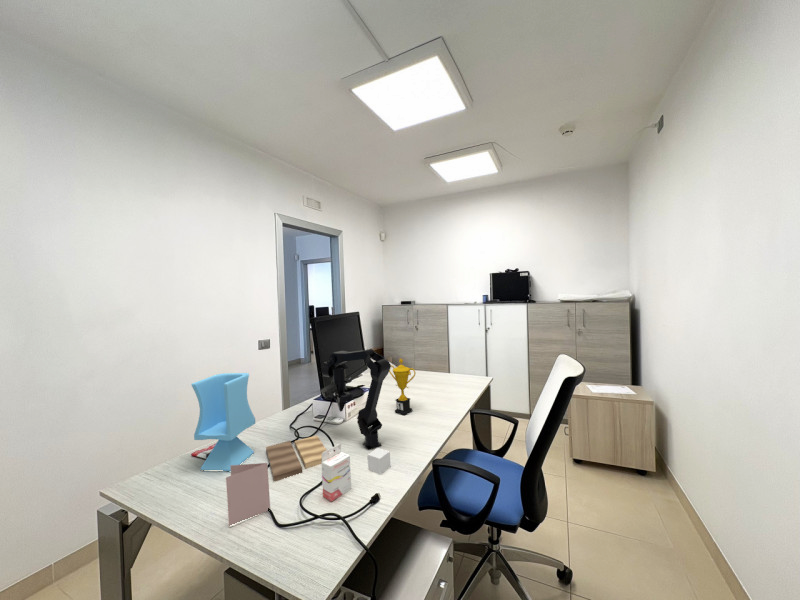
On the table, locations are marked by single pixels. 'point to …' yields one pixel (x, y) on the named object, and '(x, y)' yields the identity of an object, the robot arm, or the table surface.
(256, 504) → the greeting card
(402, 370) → the trophy
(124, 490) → the table surface
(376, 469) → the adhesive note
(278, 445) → the walnut board
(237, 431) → the blue pedestal chair
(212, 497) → the table surface
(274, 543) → the table surface
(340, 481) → the ink cartridge box
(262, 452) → the table surface
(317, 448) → the oak plank
